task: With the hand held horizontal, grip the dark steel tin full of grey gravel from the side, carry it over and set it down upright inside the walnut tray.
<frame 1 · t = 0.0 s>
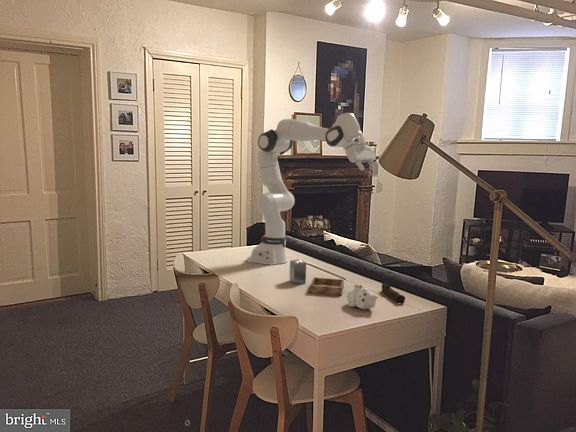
hand: (367, 169, 227), 54 cm above the table, tool tilted 30°, fingers open, 8 cm apart
walnut tray: (327, 289, 218), on the table
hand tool: (389, 298, 210), on the table
cat figurine: (361, 308, 195), on the table
gravel tin: (297, 282, 229), on the table
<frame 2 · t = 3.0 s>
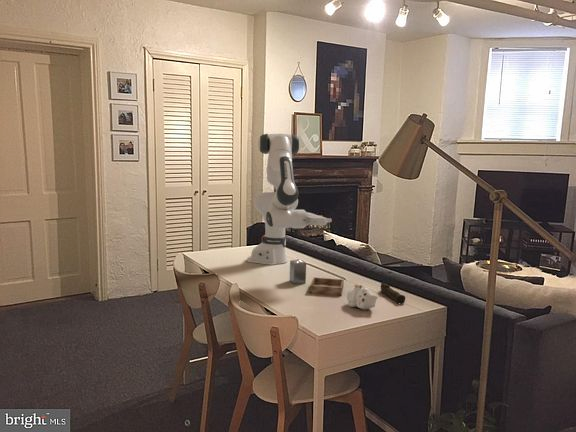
hand: (327, 218, 231), 30 cm above the table, tool horizontal, fingers open, 8 cm apart
nothing on the table moved.
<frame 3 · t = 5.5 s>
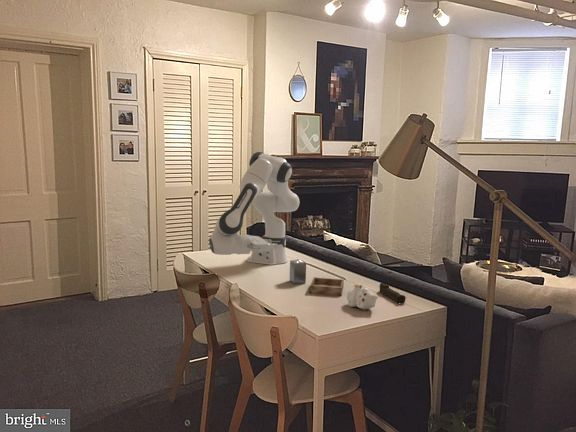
hand: (274, 243, 222), 19 cm above the table, tool horizontal, fingers open, 8 cm apart
nothing on the table moved.
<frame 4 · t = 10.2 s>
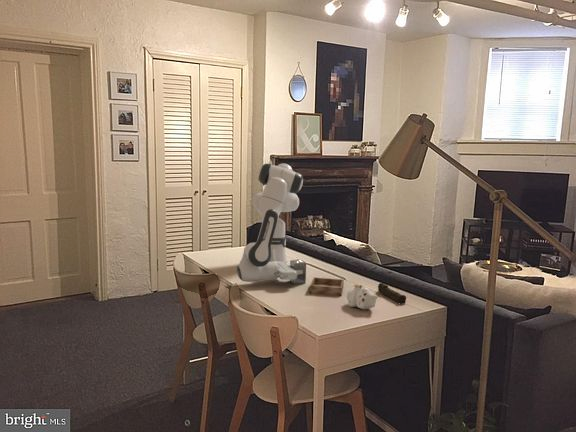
hand: (299, 269, 228), 6 cm above the table, tool horizontal, fingers closed on gravel tin, 6 cm apart
gravel tin: (297, 282, 229), on the table, touching gripper
everything else where it was.
when the fingers open (8 cm above the table, at t = 16.3 s): gravel tin drops 1 cm, resting on walnut tray.
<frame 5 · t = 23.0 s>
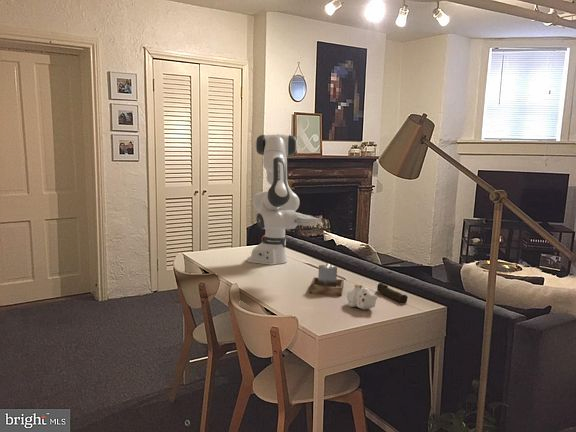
hand: (315, 218, 232), 30 cm above the table, tool horizontal, fingers open, 8 cm apart
gravel tin: (326, 287, 218), point 1 cm above the table, touching walnut tray
at the end: gravel tin inside the target area on the walnut tray (0.1 cm from its centre), point 1.0 cm above the walnut tray's base; gravel tin tilted 0°; the gripper is holding nothing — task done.
